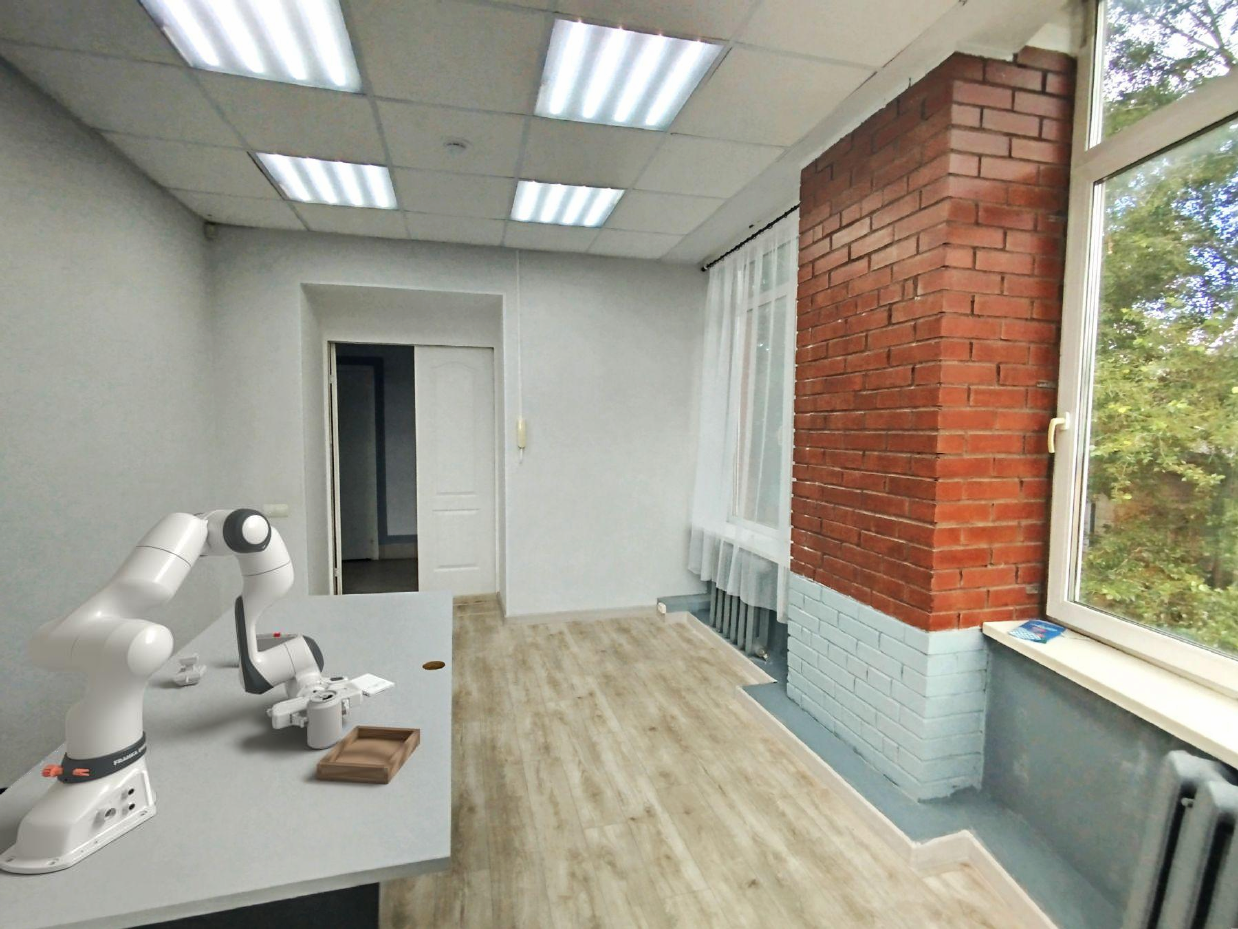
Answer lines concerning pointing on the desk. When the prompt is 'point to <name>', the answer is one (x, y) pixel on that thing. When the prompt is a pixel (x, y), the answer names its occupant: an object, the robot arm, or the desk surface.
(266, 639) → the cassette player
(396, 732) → the tray
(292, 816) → the desk surface
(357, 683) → the external hard drive
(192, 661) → the stamp
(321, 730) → the can
